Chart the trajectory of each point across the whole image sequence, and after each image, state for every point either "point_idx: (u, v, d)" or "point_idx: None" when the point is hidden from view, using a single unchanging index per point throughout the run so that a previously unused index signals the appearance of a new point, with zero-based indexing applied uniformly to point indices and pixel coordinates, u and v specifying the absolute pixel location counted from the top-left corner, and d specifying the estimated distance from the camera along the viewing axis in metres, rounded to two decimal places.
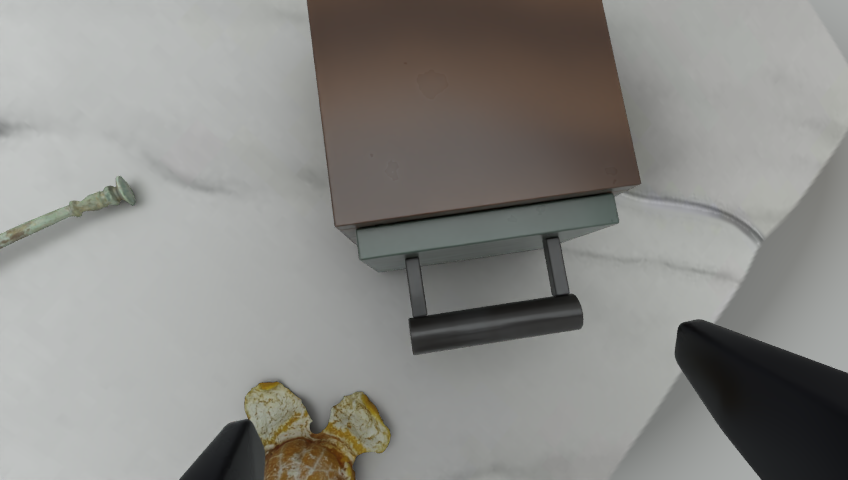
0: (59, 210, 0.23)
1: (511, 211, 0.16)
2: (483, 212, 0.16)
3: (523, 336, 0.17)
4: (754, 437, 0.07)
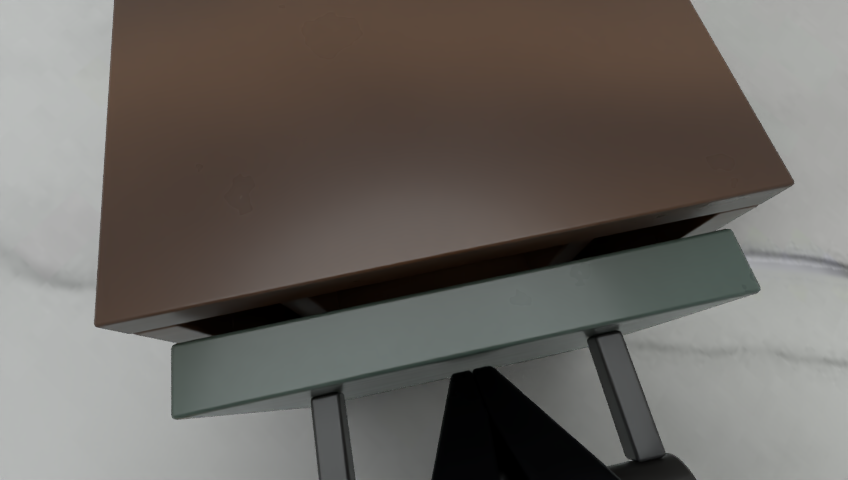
0: None
1: (516, 282, 0.07)
2: (454, 288, 0.07)
3: None
4: None
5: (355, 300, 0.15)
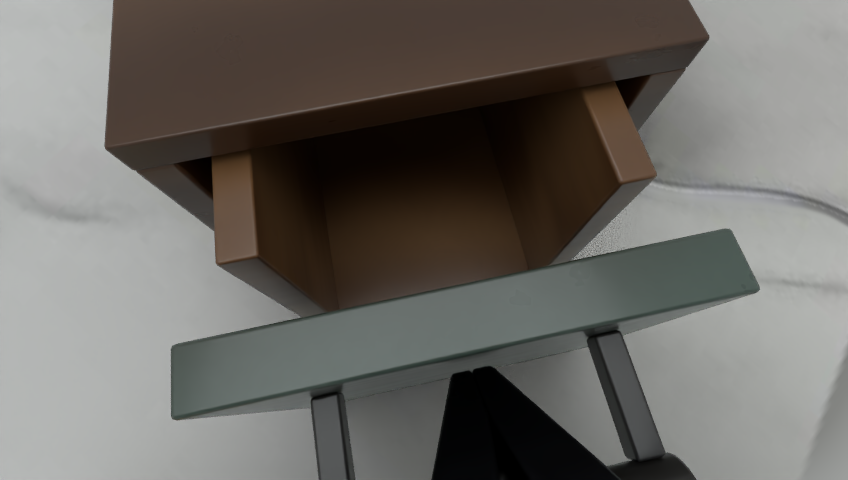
0: None
1: (516, 282, 0.07)
2: (454, 288, 0.07)
3: None
4: None
5: (355, 300, 0.15)
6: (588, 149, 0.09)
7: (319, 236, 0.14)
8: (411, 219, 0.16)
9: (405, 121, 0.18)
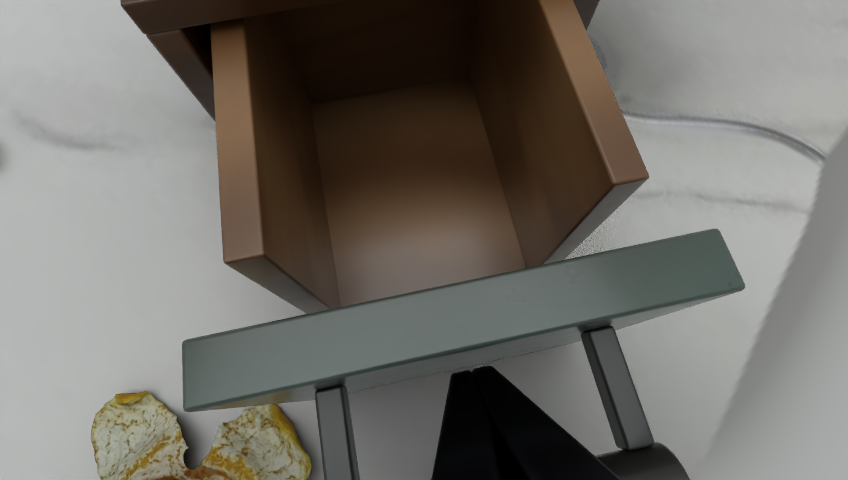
0: None
1: (512, 280, 0.08)
2: (453, 286, 0.08)
3: None
4: None
5: (356, 295, 0.15)
6: (583, 150, 0.09)
7: (321, 233, 0.14)
8: (411, 215, 0.16)
9: (404, 118, 0.18)
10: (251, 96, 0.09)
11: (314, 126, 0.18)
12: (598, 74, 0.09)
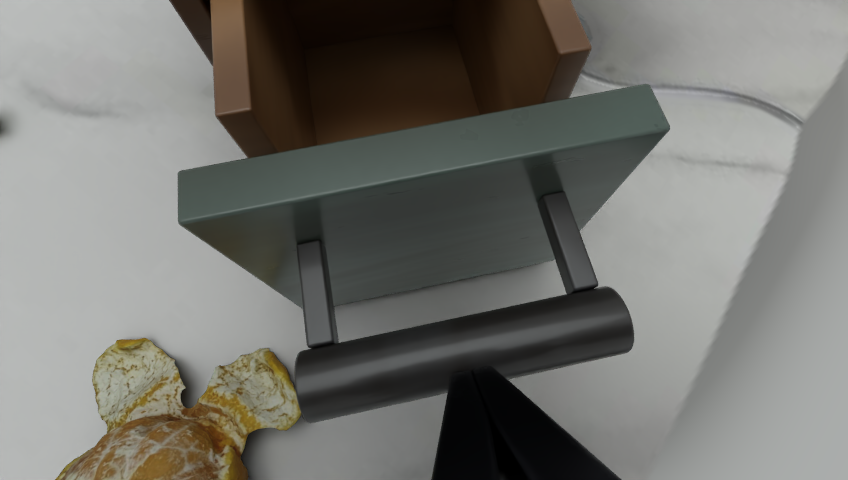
0: None
1: (466, 123, 0.09)
2: (414, 128, 0.09)
3: (520, 370, 0.09)
4: None
5: None
6: (537, 36, 0.10)
7: None
8: None
9: (391, 61, 0.19)
10: None
11: (306, 68, 0.19)
12: None
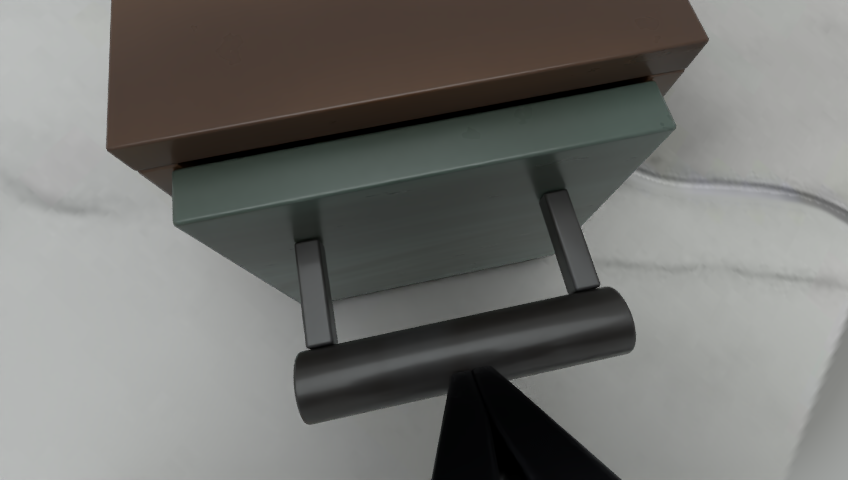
0: None
1: (468, 121, 0.08)
2: (415, 126, 0.08)
3: (521, 372, 0.09)
4: None
5: None
6: None
7: (307, 144, 0.15)
8: None
9: None
10: None
11: None
12: None
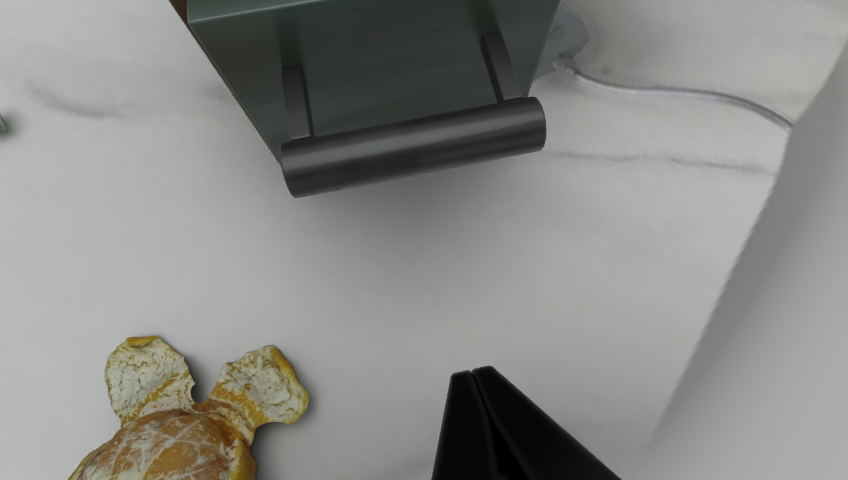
0: None
1: None
2: None
3: (457, 153, 0.11)
4: None
5: None
6: None
7: None
8: None
9: None
10: None
11: None
12: None
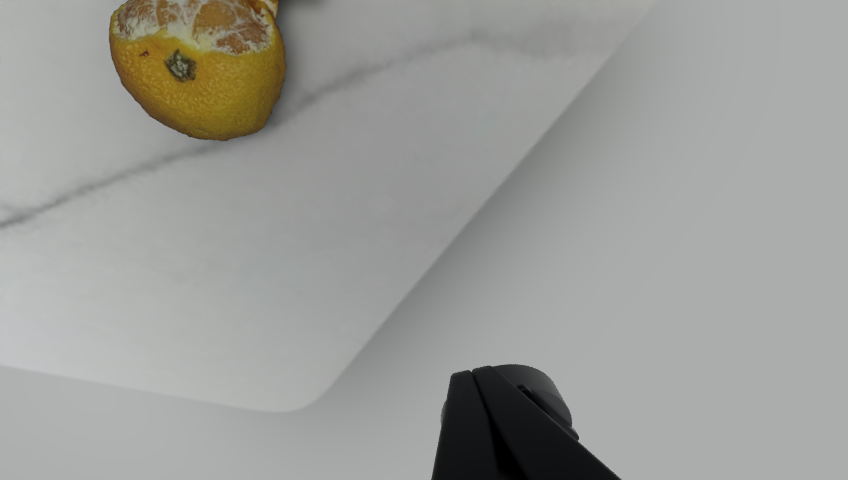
0: None
1: None
2: None
3: None
4: None
5: None
6: None
7: None
8: None
9: None
10: None
11: None
12: None
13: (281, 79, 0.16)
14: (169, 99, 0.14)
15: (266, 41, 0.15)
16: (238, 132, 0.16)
